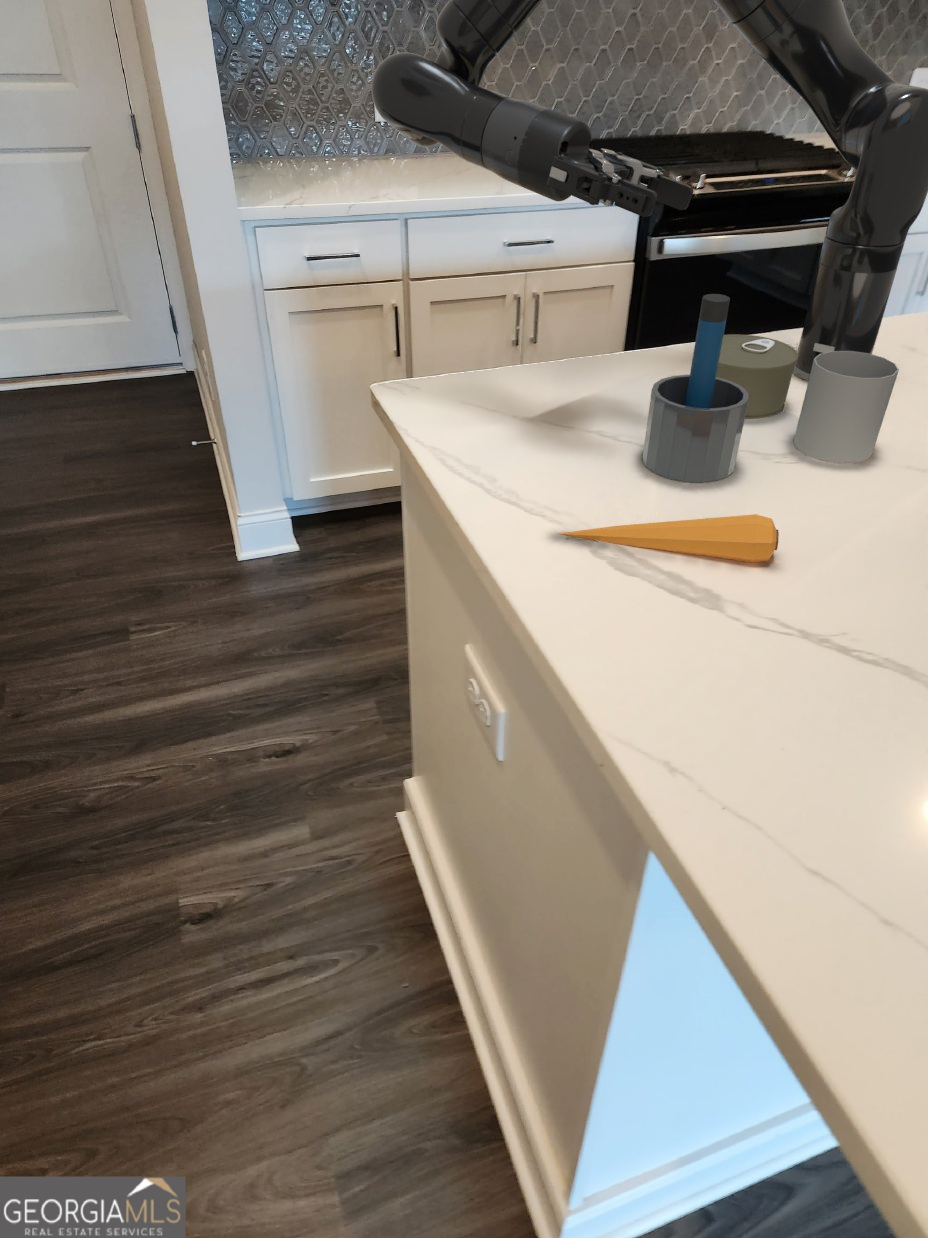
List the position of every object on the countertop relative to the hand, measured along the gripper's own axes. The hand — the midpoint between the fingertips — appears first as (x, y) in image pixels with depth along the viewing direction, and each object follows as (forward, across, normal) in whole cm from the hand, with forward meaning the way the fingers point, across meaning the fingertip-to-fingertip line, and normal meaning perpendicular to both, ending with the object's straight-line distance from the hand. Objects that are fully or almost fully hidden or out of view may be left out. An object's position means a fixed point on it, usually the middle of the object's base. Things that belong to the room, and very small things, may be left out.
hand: (672, 202), depth 80 cm
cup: (+23, +13, +20) cm, 33 cm away
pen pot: (+12, 0, +24) cm, 26 cm away
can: (+10, +20, +22) cm, 32 cm away
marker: (+12, 0, +23) cm, 26 cm away
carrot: (+17, -17, +24) cm, 34 cm away
